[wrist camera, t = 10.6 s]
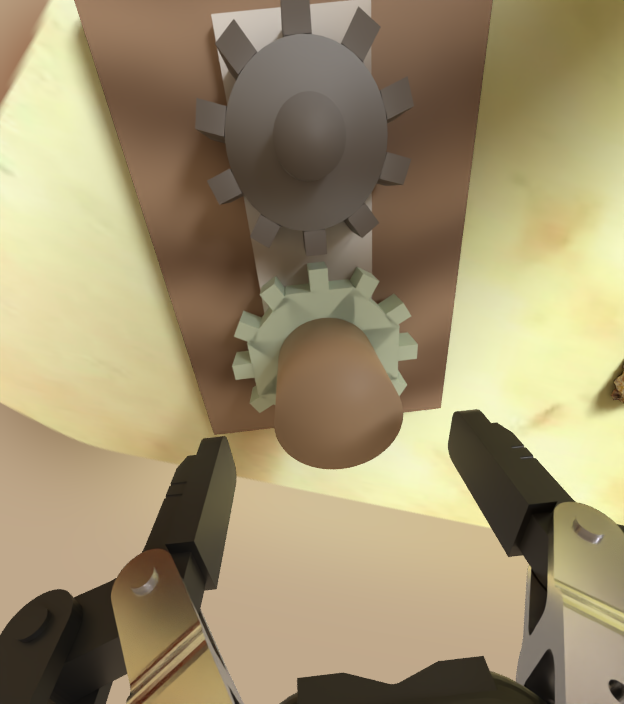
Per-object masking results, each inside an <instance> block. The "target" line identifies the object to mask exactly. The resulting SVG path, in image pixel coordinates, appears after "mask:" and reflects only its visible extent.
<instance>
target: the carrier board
mask: <svg viewBox="0 0 624 704" xmlns="http://www.w3.org/2000/svg"><path fill="white" fill-rule="evenodd" d="M74 1H75V4H76V7H77V10H78V14H79V17H80V20H81V23H82V26H83V29H84V32H85V35H86V38H87V41H88V45H89V48H90V51H91V54H92V57H93V60H94V63H95V66H96V69H97V72H98V76H99V79H100V82H101V85H102V88H103V91H104V94H105V97H106V100H107V103H108V107H109V110H110V113H111V116H112V119H113V122H114V125H115V128H116V131H117V134H118V137H119V141H120V144H121V147H122V150H123V153H124V156H125V159H126V162H127V165H128V168H129V172H130V175H131V178H132V181H133V184H134V187H135V190H136V193H137V196H138V199H139V203H140V206H141V209H142V212H143V215H144V218H145V221H146V224H147V227H148V230H149V234H150V237H151V240H152V243H153V246H154V249H155V252H156V255H157V258H158V261H159V265H160V268H161V271H162V274H163V277H164V280H165V283H166V286H167V289H168V292H169V295H170V299H171V302H172V305H173V308H174V311H175V314H176V317H177V320H178V323H179V326H180V330H181V333H182V336H183V339H184V342H185V345H186V348H187V351H188V354H189V357H190V361H191V364H192V367H193V370H194V373H195V376H196V379H197V382H198V385H199V388H200V392H201V395H202V398H203V401H204V404H205V407H206V410H207V413H208V416H209V419H210V423H211V426H212V429H213V432H214V435H217V434H225V433H234V432H242V431H251V430H259V429H268V428H274V418H275V405H274V404H273V405H272V406H270V407H269V408H267V409H265V410H264V411H262V412H261V413H259V412H258V411H257V410H256V409H255V408H254V407H253V406H252V405H251V404H250V399H251V394H252V388H253V387H254V386H256V382H255V378H247V379H239V380H236V379H235V375H234V371H233V367H232V365H233V362H234V359H235V356H236V353H237V352H242V351H249V349H248V345H247V341H245V340H242V339H239V338H236V337H234V335H235V332H236V329H237V327H238V324H239V321H240V319H241V316H242V313H243V311H246V312H249V313H251V314H254V315H256V316H259V317H262V316H263V315H264V314H265V312H266V311H267V310H268V309H269V306H268V304H267V303H266V302H265V301H264V300H263V298H262V297H261V296H260V292H261V288H262V286H263V285H264V284H265V283H267V282H268V281H269V280H271V279H272V278H273V277H275V276H276V277H277V278H278V279H279V281H280V282H281V283H282V285H283V286H284V287H286V286H290V285H299V284H308V283H309V280H308V270H307V263H315V262H325V264H326V266H327V268H328V281H335V280H344V279H349V280H350V279H351V277H352V275H353V273H354V271H355V269H356V267H359V268H361V269H363V270H365V271H367V272H369V273H371V274H372V275H373V276H374V277H375V278H377V279H378V280H379V283H378V285H377V287H376V288H375V290H374V292H373V294H372V296H371V297H370V298H371V299H372V300H373V301H375V302H376V303H377V304H379V303H380V302H382V301H383V300H385V299H386V298H388V297H389V296H391V295H392V294H395V295H396V296H397V297H398V298H399V299H400V300H401V301H402V302H403V303H404V305H405V306H406V308H407V310H408V311H409V313H410V315H411V317H409V318H408V319H406V320H405V321H403V322H402V323H400V324H398V325H399V326H400V328H399V333H406V332H408V333H409V334H410V336H411V337H412V338H413V339H414V340H415V341H416V343H417V344H418V350H417V359H410V360H402V361H398V371H399V372H400V374H401V375H402V377H403V379H404V380H405V382H406V384H407V386H406V387H405V389H404V390H403V392H402V393H401V395H400V396H399V397H400V399H401V402H402V406H403V412H411V411H420V410H428V409H436V408H441V401H442V393H443V385H444V378H445V370H446V362H447V354H448V346H449V338H450V331H451V323H452V315H453V307H454V299H455V291H456V283H457V276H458V268H459V260H460V252H461V244H462V236H463V229H464V221H465V213H466V205H467V197H468V189H469V182H470V174H471V166H472V158H473V150H474V142H475V135H476V127H477V119H478V111H479V103H480V95H481V87H482V80H483V72H484V64H485V56H486V48H487V40H488V33H489V25H490V17H491V9H492V1H493V0H74Z"/></svg>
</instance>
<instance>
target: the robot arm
mask: <svg viewBox="0 0 624 704" xmlns="http://www.w3.org/2000/svg"><path fill="white" fill-rule="evenodd" d="M448 450H449V455H450V458H451V460H452V462H453V464H454V465H455V467H456V469H457V471H458V472H459V474H460V476H461V477H462V479H463V481H464V482H465V484H466V486H467V487H468V489H469V491H470V493H471V494H472V496H473V498H474V499H475V501H476V503H477V504H478V506H479V508H480V510H481V511H482V513H483V515H484V516H485V518H486V520H487V521H488V523H489V525H490V527H491V528H492V530H493V532H494V533H495V535H496V537H497V538H498V540H499V542H500V543H501V545H502V547H503V548H504V550H505V552H506V554H507V555H508V557H512V556H520V555H524V557H525V559H526V560H527V562H528V563H529V566H528V569H527V582H526V599H525V616H524V634H523V643H522V648H521V652H520V656H519V661H518V666H517V673H516V682H515V681H513V680H511V679H509V678H507V677H505V676H502V675H500V674H497V673H495V672H491V671H489V668H488V666H487V664H486V661H485V659H484V656H479V657H471V658H463V659H454V660H445V661H438V662H436V663H434V664H432V665H430V666H429V667H427V668H425V669H423V670H421V671H420V672H418V673H416V674H414V675H412V676H411V677H409V678H407V679H405V680H403V681H402V682H400V683H397V684H387V683H383V682H379V681H375V680H371V679H367V678H363V677H359V676H354V675H351V674H347V673H336V674H328V675H320V676H311V677H303V678H297V685H298V686H297V689H298V692H297V693H295V694H293V695H291V696H289V697H288V698H287V699H286V700H284V701H283V702H281V703H280V704H624V526H623V525H618V524H616V523H615V522H614V521H613V520H611V519H610V518H609V517H608V516H606V515H605V514H603V513H602V512H600V511H599V510H597V509H595V508H593V507H590V506H588V505H585V504H582V503H577V502H575V501H574V500H573V499H572V498H571V497H570V496H569V495H568V493H567V492H566V491H565V490H564V489H563V488H562V487H561V486H560V485H559V484H558V482H557V481H556V480H555V479H554V478H553V477H552V476H551V475H550V474H549V472H548V471H547V470H546V469H545V468H544V467H543V466H542V465H541V464H540V463H539V461H538V460H537V459H536V458H533V455H532V454H531V453H530V451H529V450H528V449H527V448H524V445H523V444H522V443H521V442H520V440H519V439H518V438H517V437H516V436H515V435H514V434H513V433H512V432H511V431H509V430H508V429H506V428H504V427H503V426H501V425H500V424H498V423H490V421H489V420H488V419H487V418H486V417H485V415H484V414H483V413H482V412H481V411H480V410H477V409H475V410H466V411H457V412H454V414H453V417H452V423H451V429H450V435H449V441H448ZM235 487H236V467H235V464H234V460H233V457H232V453H231V450H230V447H229V443H228V440H227V438H226V437H225V436H222V437H213V438H204V439H203V440H202V441H201V443H200V446H199V449H198V452H197V455H191V456H187V457H186V458H185V460H184V461H183V462H182V463H181V464H180V466H179V467H178V468H177V469H176V472H175V474H174V477H173V479H172V482H171V486H169V489H168V492H167V494H166V499H164V501H163V504H162V506H161V508H160V511H159V513H158V516H157V518H156V521H155V523H154V526H153V528H152V531H151V533H150V536H149V538H148V541H147V543H146V545H145V548H144V550H143V551H142V553H141V554H139V555H137V556H136V557H135V558H133V559H132V560H131V561H130V562H129V563H128V564H127V565H126V566H125V567H124V568H123V569H122V570H121V572H120V573H119V575H118V577H117V578H115V579H114V580H112V581H110V582H108V583H106V584H103V585H101V586H99V587H97V588H94V589H92V590H90V591H88V592H85V593H83V594H81V595H78V596H76V597H74V598H73V596H72V595H70V593H69V592H68V591H66V590H61V589H57V590H52V591H48V592H46V593H43V594H42V595H40V596H38V597H36V598H35V599H34V600H32V601H30V602H29V603H28V604H26V605H25V606H24V607H23V608H22V609H21V610H20V611H19V612H18V613H17V614H16V615H15V616H14V617H13V618H12V619H11V620H10V622H9V623H8V624H7V626H6V627H5V629H4V630H3V631H2V633H1V635H0V704H106V701H107V698H108V695H109V692H110V688H111V686H112V682H113V681H114V680H116V679H118V678H120V677H122V676H123V675H125V674H128V678H129V683H130V690H131V691H130V696H129V697H128V698H127V702H126V704H244V703H243V701H242V700H241V697H240V695H239V693H238V691H237V689H236V687H235V685H234V682H233V680H232V678H231V676H230V674H229V672H228V670H227V667H226V665H225V663H224V661H223V658H222V656H221V654H220V652H219V649H218V647H217V645H216V643H215V641H214V638H213V636H212V634H211V631H210V629H209V627H208V625H207V622H206V620H205V618H204V616H203V613H202V611H201V609H200V607H201V602H202V598H203V593H204V590H212V589H217V584H218V578H219V573H220V567H221V562H222V557H223V551H224V546H225V540H226V534H227V529H228V524H229V518H230V513H231V508H232V503H233V497H234V492H235Z"/></svg>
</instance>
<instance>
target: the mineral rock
mask: <svg viewBox="0 0 624 704" xmlns="http://www.w3.org/2000/svg"><path fill="white" fill-rule="evenodd" d="M623 367H624V365H623ZM614 384H615V385H616V388H615V389H614V390H613V392H612V395H611V396H612V398H613V400H620V401H621V402H623V403H624V371H623V374H622V375H621V376H619V377H617V378H616V379H615V380H614Z"/></svg>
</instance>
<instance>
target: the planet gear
mask: <svg viewBox="0 0 624 704" xmlns="http://www.w3.org/2000/svg"><path fill="white" fill-rule="evenodd" d="M307 270H308V280H309V283H308V284H299V285H290V286H286V287H284V286H283V285H282V283H281V282H280V281H279V279H278V278H277V277H276V276H275V277H273V278H272V279H271V280H269V281H268V282H267V283H265V284H264V285H263V286H262V288H261V292H260V296H261V297H262V298H263V300H264V301H265V302H266V303H267V304H268V306H269V309H268V310H267V311H266V312H265V314H264V315H263V316H262V317H259V316H256V315H254V314H251V313H249V312H246V311H243V313H242V316H241V319H240V321H239V324H238V327H237V329H236V332H235V335H234V337H236V338H239V339H242V340H245V341H247V345H248V349H249V351H242V352H237V353H236V356H235V359H234V362H233V365H232V367H233V371H234V375H235V379H236V380H239V379H247V378H255V382H256V386H254V387H253V388H252V394H251V399H250V404H251V405H252V406H253V407H254V408H255V409H256V410H257V411H258V412H259V413H261V412H262V411H264V410H265V409H267V408H269V407H270V406H272V405H273V404H274V405H275V418H274V428H275V433H276V437H277V439H278V441H279V443H280V445H281V446H282V447H283V449H284V450H285V451H286V452H287V453H288V454H289V455H290V456H292V457H293V458H294V459H296V460H298V461H299V462H301V463H304V464H306V465H309V466H312V467H316V468H322V469H344V468H350V467H354V466H357V465H360V464H363V463H365V462H367V461H370V460H372V459H373V458H375V457H377V456H378V455H379V454H381V453H382V452H383V451H385V450H386V449H387V448H388V447H389V446H390V445H391V443H392V442H393V441H394V440H395V438H396V436H397V435H398V433H399V431H400V428H401V425H402V421H403V406H402V402H401V399H400V397H399V396H400V395H401V393H402V392H403V390H404V389H405V387H406V386H407V384H406V382H405V380H404V379H403V377H402V375H401V374H400V372H399V371H398V361H402V360H410V359H417V350H418V344H417V343H416V341H415V340H414V339H413V338H412V337H411V336H410V334H409V333H408V332H406V333H399V328H400V326H399V325H398V324H400V323H402V322H403V321H405V320H406V319H408V318H409V317H411V315H410V313H409V311H408V310H407V308H406V306H405V305H404V303H403V302H402V301H401V300H400V299H399V298H398V297H397V296H396V295H395V294H392V295H391V296H389V297H388V298H386V299H385V300H383V301H382V302H380V303H379V304H377V303H376V302H375V301H373V300H372V299H371V298H370V297H371V296H372V294H373V292H374V290H375V288H376V287H377V285H378V283H379V280H378V279H377V278H375V277H374V276H373V275H372V274H371V273H369V272H367V271H365V270H363V269H361V268H359V267H356V269H355V271H354V273H353V275H352V277H351V279H350V280H349V279H344V280H335V281H328V268H327V266H326V264H325V262H315V263H307Z"/></svg>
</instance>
